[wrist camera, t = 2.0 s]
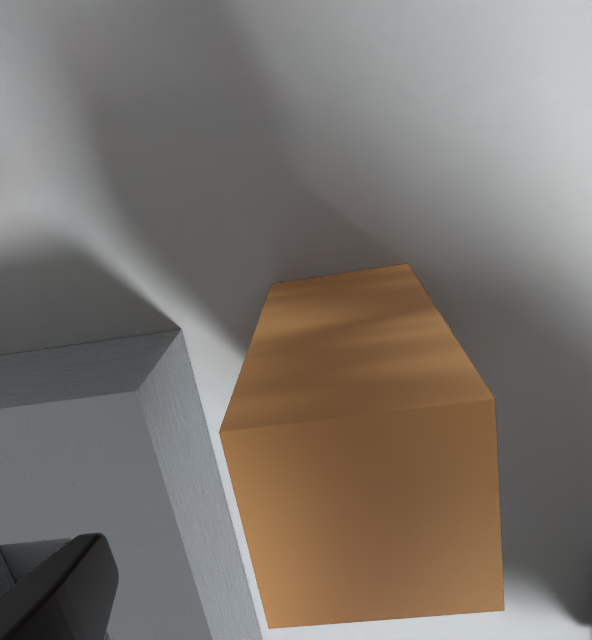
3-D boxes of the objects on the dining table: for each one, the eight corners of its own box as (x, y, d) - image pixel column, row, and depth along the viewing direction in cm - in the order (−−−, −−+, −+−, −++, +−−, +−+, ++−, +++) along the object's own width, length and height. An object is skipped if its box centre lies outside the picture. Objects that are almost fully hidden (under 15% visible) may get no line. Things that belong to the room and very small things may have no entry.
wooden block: (407, 263, 15) (494, 399, 7) (420, 386, 16) (504, 610, 8) (271, 284, 15) (218, 432, 8) (294, 402, 16) (269, 628, 9)
